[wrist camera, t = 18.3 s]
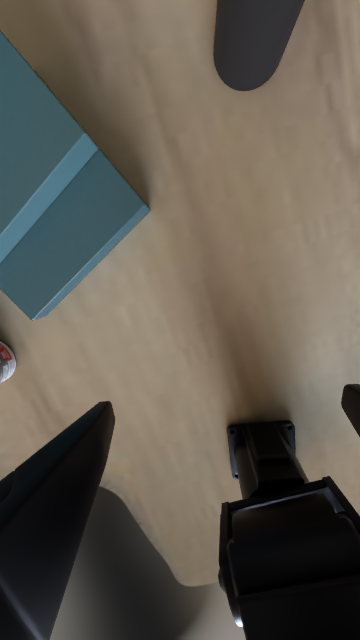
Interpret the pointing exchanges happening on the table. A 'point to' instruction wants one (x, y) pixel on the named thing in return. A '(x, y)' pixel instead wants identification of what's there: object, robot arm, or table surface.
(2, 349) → the pill bottle
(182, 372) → the table surface
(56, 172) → the step shelf
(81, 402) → the table surface
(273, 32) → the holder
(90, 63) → the table surface
